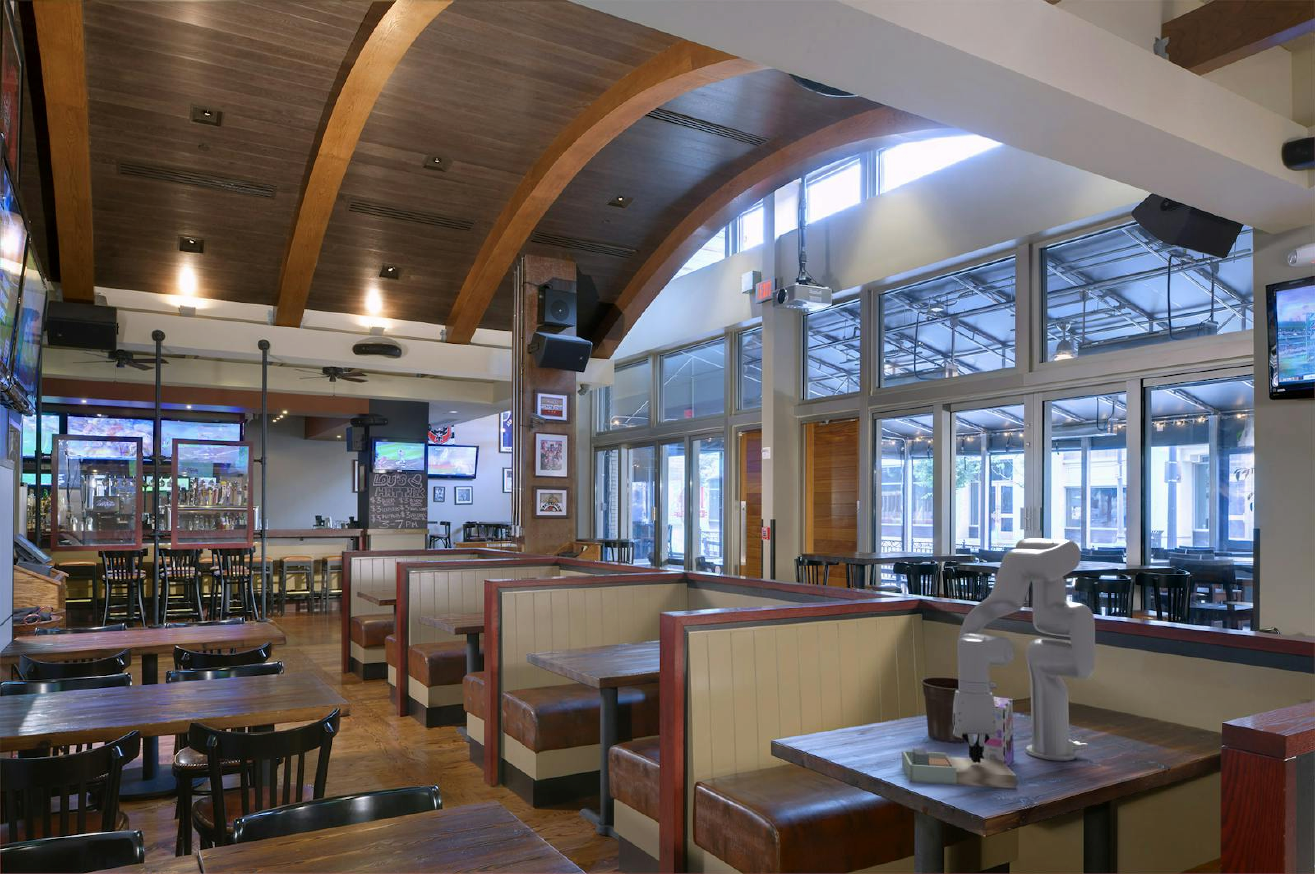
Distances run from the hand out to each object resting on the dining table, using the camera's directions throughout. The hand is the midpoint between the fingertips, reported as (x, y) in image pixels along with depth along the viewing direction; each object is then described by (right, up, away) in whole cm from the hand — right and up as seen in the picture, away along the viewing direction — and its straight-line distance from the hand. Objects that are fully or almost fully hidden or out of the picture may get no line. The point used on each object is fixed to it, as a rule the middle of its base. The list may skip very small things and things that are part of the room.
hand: (975, 760), depth 213 cm
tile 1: (-12, -1, +2) cm, 12 cm away
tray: (-12, -4, +1) cm, 12 cm away
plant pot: (+6, -8, +37) cm, 38 cm away
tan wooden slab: (+1, -4, -1) cm, 4 cm away
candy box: (+10, -6, +12) cm, 17 cm away
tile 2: (-9, -3, 0) cm, 10 cm away
